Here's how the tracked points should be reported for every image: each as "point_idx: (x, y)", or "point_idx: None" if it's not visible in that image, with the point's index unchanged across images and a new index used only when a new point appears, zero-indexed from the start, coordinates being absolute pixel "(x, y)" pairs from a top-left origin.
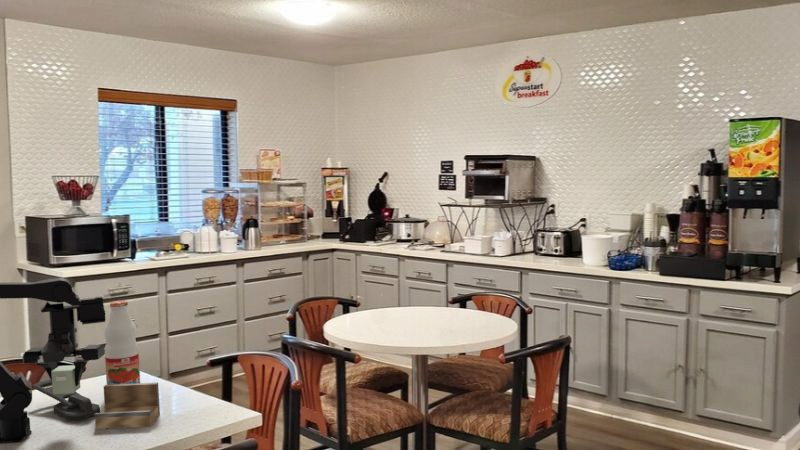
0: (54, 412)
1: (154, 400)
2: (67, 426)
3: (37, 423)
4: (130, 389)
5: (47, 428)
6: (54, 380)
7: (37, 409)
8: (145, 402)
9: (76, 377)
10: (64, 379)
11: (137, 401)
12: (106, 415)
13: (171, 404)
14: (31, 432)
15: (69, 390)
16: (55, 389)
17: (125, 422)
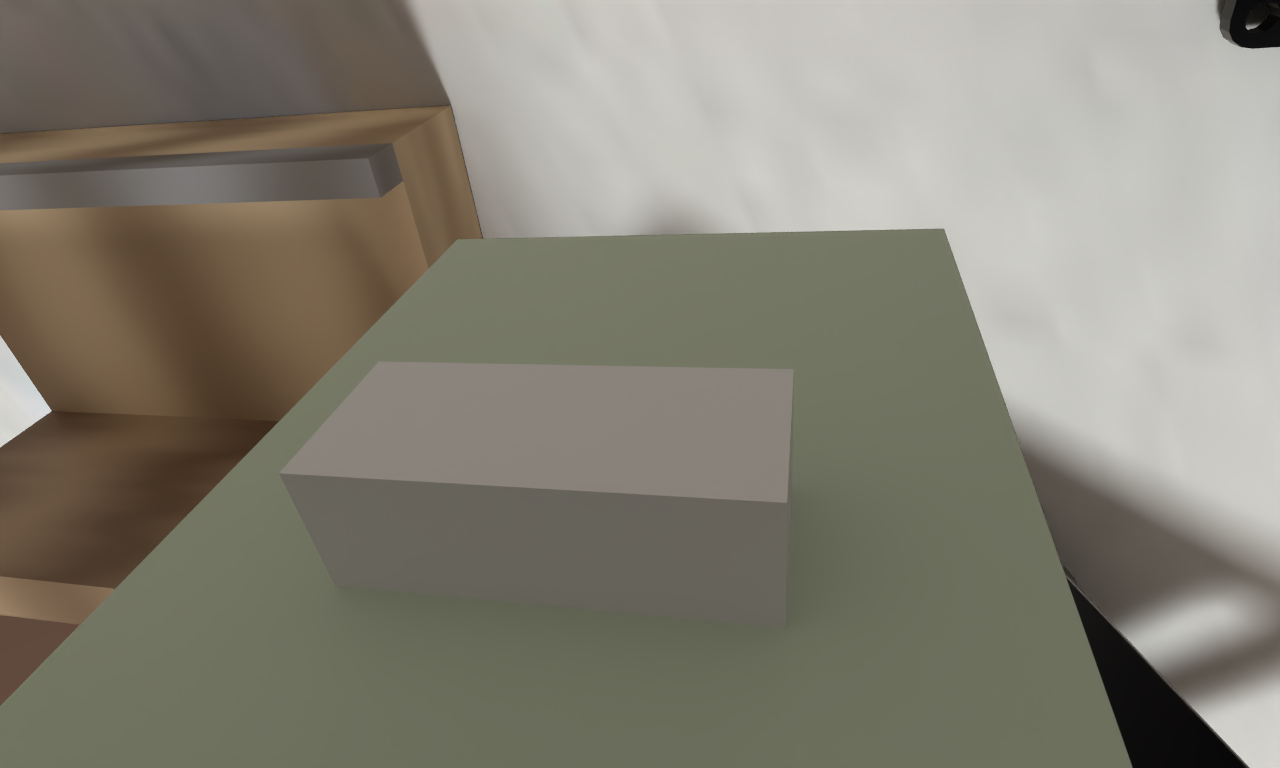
0: (1066, 574)
1: (30, 443)
2: (805, 227)
3: (1196, 359)
4: (113, 544)
5: (1029, 189)
6: (916, 480)
7: (1262, 682)
8: (111, 437)
9: None
10: (393, 381)
11: (161, 448)
12: (254, 157)
13: None
14: (1222, 16)
15: (501, 267)
16: (875, 290)
17: (141, 136)
